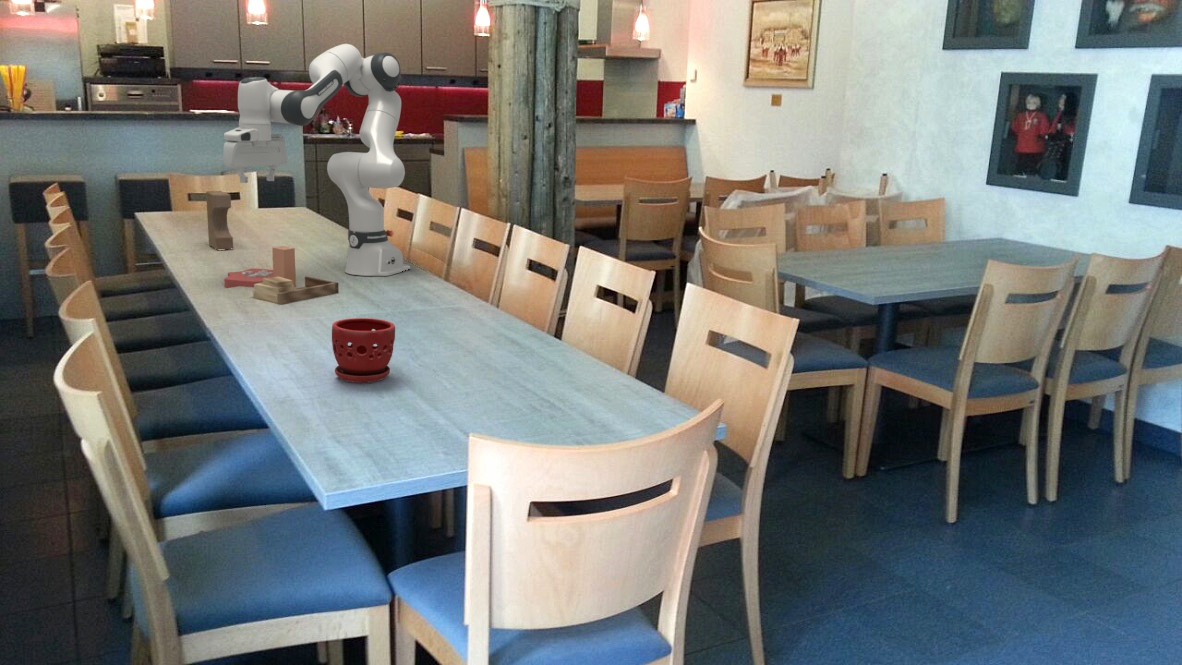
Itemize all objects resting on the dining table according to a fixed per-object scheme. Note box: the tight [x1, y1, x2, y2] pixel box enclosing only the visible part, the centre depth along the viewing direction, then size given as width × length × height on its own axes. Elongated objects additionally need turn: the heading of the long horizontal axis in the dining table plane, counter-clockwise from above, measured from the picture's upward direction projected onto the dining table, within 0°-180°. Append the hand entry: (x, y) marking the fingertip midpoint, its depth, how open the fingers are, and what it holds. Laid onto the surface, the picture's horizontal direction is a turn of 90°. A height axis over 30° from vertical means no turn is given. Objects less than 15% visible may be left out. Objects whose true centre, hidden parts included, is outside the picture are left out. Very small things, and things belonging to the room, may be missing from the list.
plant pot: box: [331, 317, 396, 384], centre depth 201 cm, size 13×13×12 cm
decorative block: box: [205, 190, 234, 250], centre depth 338 cm, size 11×6×20 cm, turn 36°
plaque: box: [223, 267, 273, 289], centre depth 286 cm, size 18×4×15 cm
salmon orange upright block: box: [271, 245, 297, 288], centre depth 278 cm, size 4×5×12 cm
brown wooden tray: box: [249, 276, 340, 305], centre depth 269 cm, size 21×13×4 cm, turn 147°
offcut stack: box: [252, 277, 295, 304], centre depth 263 cm, size 7×11×6 cm, turn 57°
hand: (257, 181), depth 277 cm, fingers open, 8 cm apart
